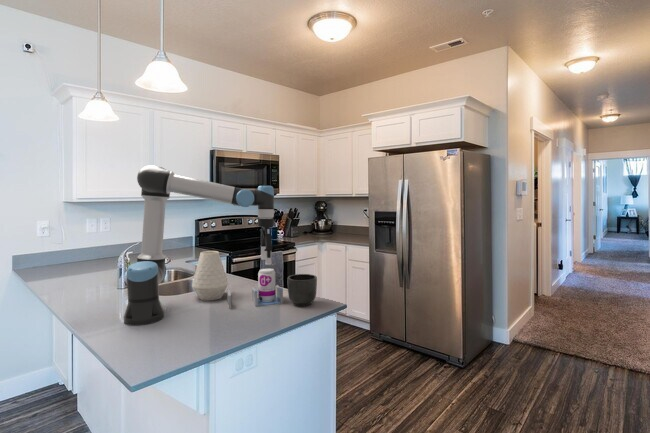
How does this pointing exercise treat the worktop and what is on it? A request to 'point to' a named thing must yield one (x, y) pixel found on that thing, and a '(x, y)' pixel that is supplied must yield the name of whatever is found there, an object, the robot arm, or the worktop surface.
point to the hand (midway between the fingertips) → (266, 262)
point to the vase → (210, 277)
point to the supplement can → (266, 285)
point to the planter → (302, 289)
